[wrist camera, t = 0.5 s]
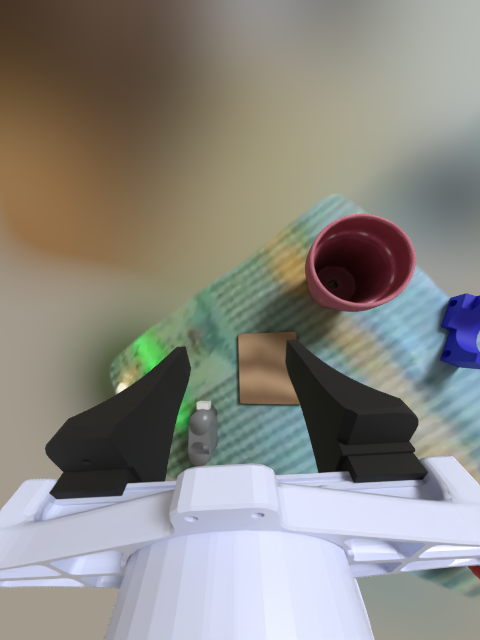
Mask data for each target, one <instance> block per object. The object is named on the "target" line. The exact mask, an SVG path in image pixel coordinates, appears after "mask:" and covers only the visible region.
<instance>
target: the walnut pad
mask: <svg viewBox="0 0 480 640" xmlns="http://www.w3.org/2000/svg"><path fill="white" fill-rule="evenodd" d="M291 339H296V340H297V336H296V332H275V333H251V334H238V343H239V382H240V403H246V404H300V403H299V400H298V398H297V395H296V393H295V390H294V388H293V385H292V383H291V380H290V378H289V375H288V371H287V368H286V363H285V358H286V342H287V340H291Z"/></svg>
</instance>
